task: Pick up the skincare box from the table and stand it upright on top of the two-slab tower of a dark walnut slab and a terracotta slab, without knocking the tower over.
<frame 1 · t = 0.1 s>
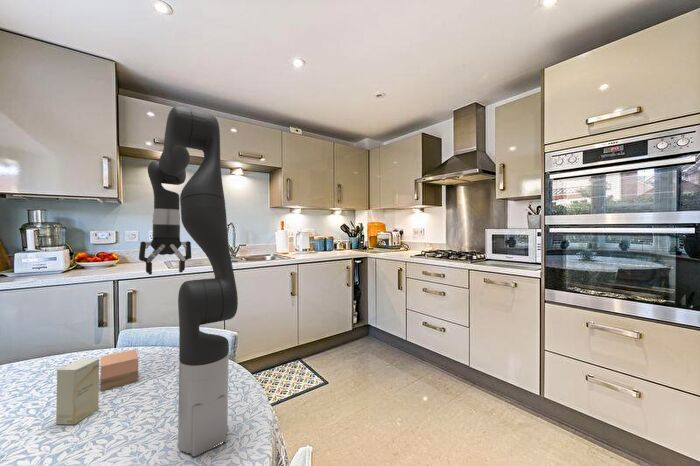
hand: (165, 273, 93), 29 cm above the table, tool pointing down, fingers open, 8 cm apart
skincare box: (78, 417, 66), on the table
terracotta slab: (119, 369, 82), point 3 cm above the table, touching walnut slab
walnut slab: (119, 381, 82), on the table, touching terracotta slab
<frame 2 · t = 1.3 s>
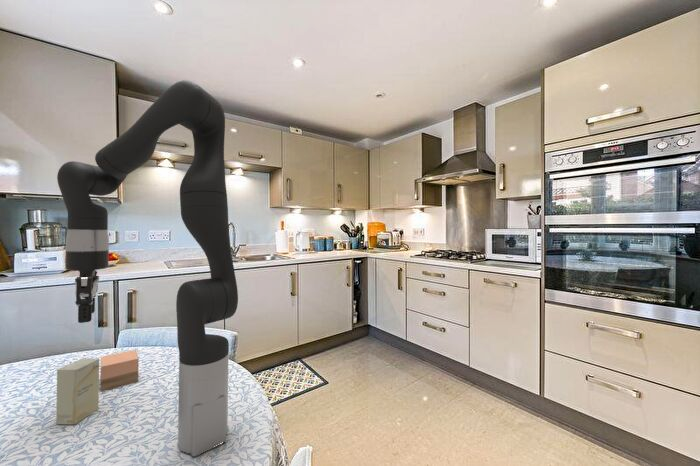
hand: (86, 317, 68), 22 cm above the table, tool pointing down, fingers open, 8 cm apart
nothing on the table moved.
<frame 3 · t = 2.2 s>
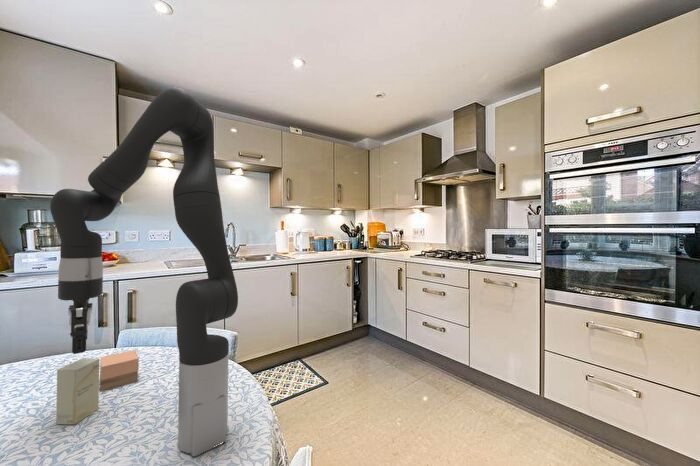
hand: (80, 346, 67), 16 cm above the table, tool pointing down, fingers open, 8 cm apart
nothing on the table moved.
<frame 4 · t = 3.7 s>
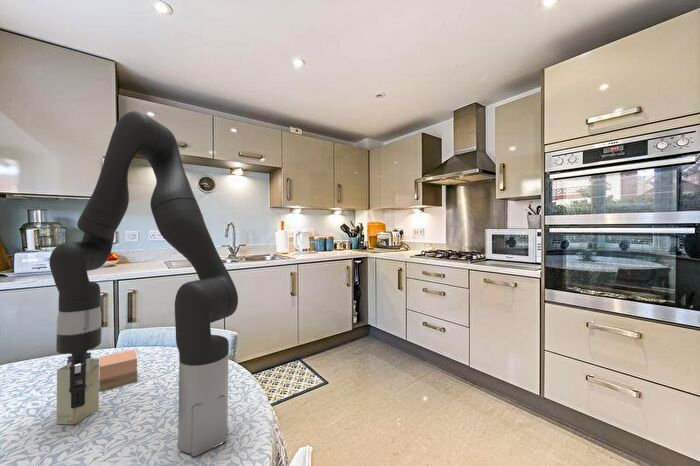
hand: (78, 398, 66), 4 cm above the table, tool pointing down, fingers closed on skincare box, 7 cm apart
skincare box: (78, 416, 66), on the table, touching gripper
everything else where it was.
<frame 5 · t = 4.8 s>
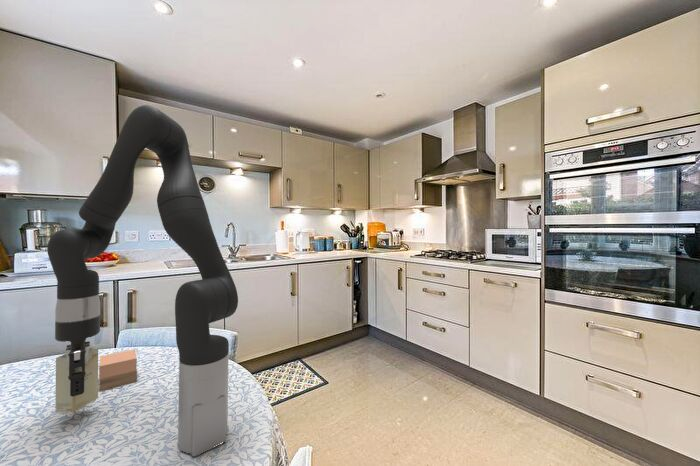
hand: (77, 387, 66), 7 cm above the table, tool pointing down, fingers closed on skincare box, 7 cm apart
skincare box: (77, 406, 66), point 3 cm above the table, touching gripper
terracotta slab: (118, 369, 82), point 3 cm above the table
walnut slab: (118, 381, 82), on the table
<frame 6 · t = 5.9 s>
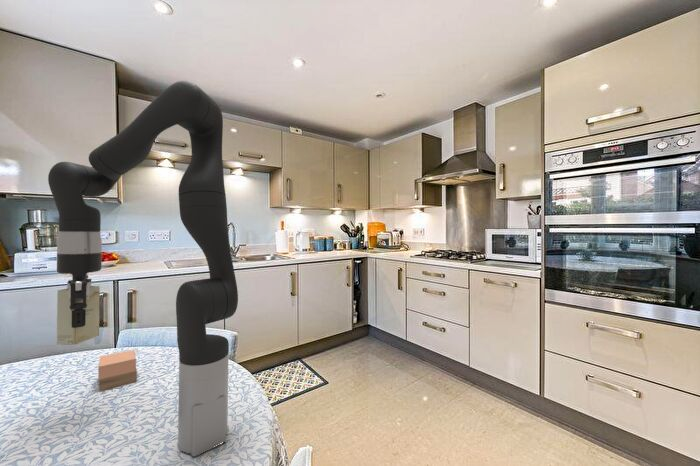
hand: (79, 322, 66), 22 cm above the table, tool pointing down, fingers closed on skincare box, 7 cm apart
skincare box: (79, 341, 66), point 17 cm above the table, touching gripper
everything else where it was.
when the fingers open (12 cm above the table, at t = 11.3 s): skincare box drops 1 cm, resting on terracotta slab.
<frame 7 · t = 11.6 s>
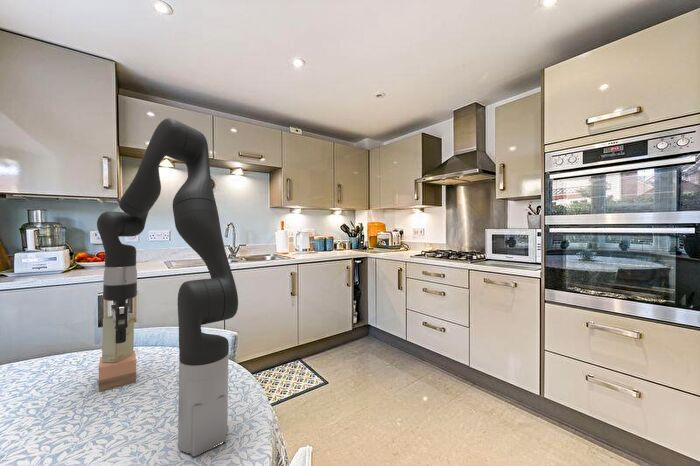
hand: (119, 338, 82), 12 cm above the table, tool pointing down, fingers open, 8 cm apart
skincare box: (118, 358, 82), point 6 cm above the table, touching gripper, terracotta slab
terracotta slab: (117, 370, 82), point 3 cm above the table, touching skincare box, walnut slab
walnut slab: (117, 383, 82), on the table, touching terracotta slab
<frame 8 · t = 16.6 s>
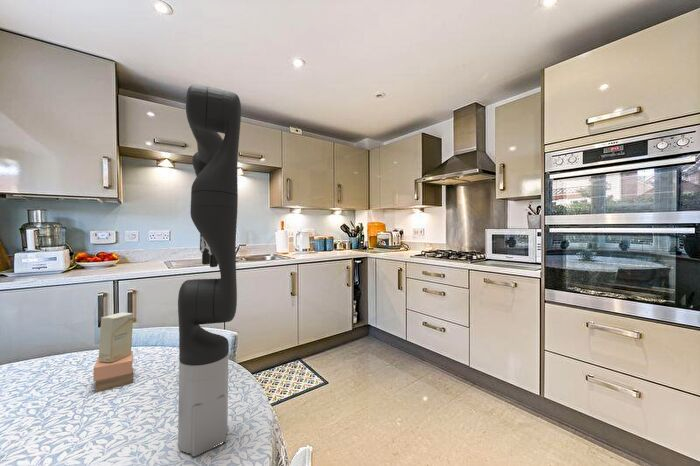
hand: (209, 265, 92), 32 cm above the table, tool pointing down, fingers open, 8 cm apart
skincare box: (115, 358, 82), point 6 cm above the table
terracotta slab: (114, 371, 81), point 3 cm above the table
walnut slab: (114, 382, 82), on the table
at the end: skincare box 0.4 cm off-centre on the terracotta slab, point 3.5 cm above the terracotta slab's base; skincare box tilted 3°; terracotta slab 0.2 cm off-centre on the walnut slab, point 3.5 cm above the walnut slab's base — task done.
